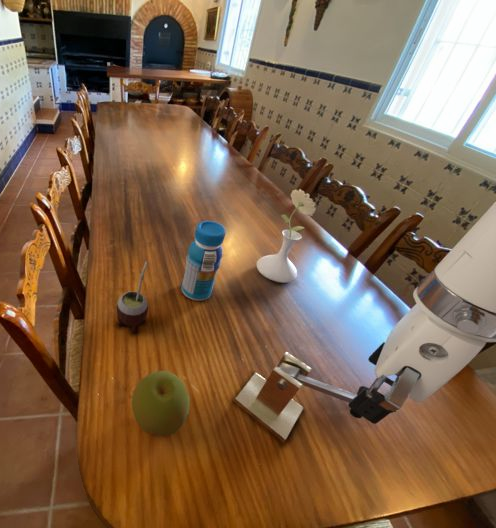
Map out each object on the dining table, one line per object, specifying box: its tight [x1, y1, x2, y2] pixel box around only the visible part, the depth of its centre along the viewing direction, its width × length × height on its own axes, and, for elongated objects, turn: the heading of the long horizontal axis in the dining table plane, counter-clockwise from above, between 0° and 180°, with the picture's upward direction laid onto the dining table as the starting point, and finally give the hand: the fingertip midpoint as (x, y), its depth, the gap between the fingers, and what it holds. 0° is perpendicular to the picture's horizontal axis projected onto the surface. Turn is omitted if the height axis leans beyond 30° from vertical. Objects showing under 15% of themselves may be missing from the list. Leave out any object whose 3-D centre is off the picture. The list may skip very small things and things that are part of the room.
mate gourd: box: [116, 260, 149, 335], centre depth 66 cm, size 8×8×15 cm
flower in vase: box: [256, 188, 317, 284], centre depth 81 cm, size 13×11×25 cm
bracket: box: [233, 351, 312, 443], centre depth 52 cm, size 10×8×13 cm
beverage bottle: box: [180, 220, 226, 301], centre depth 74 cm, size 8×8×20 cm
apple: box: [131, 370, 191, 437], centre depth 50 cm, size 10×10×11 cm
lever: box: [279, 363, 370, 419], centre depth 46 cm, size 12×5×2 cm, turn 45°
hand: (371, 388), depth 40 cm, fingers open, 9 cm apart
